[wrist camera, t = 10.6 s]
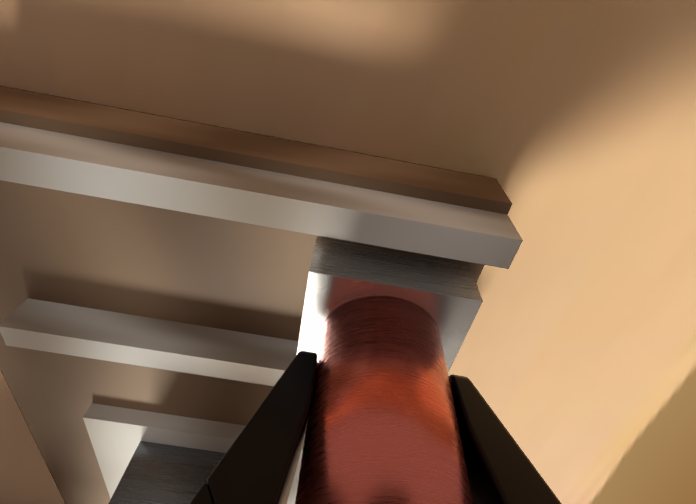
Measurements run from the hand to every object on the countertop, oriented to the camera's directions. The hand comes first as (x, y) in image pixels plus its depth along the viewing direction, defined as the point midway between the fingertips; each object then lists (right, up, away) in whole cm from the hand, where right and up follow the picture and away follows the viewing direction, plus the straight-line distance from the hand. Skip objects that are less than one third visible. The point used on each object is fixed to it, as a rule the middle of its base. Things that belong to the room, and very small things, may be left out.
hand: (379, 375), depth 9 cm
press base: (-6, -2, +7) cm, 10 cm away
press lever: (0, +2, +2) cm, 3 cm away
